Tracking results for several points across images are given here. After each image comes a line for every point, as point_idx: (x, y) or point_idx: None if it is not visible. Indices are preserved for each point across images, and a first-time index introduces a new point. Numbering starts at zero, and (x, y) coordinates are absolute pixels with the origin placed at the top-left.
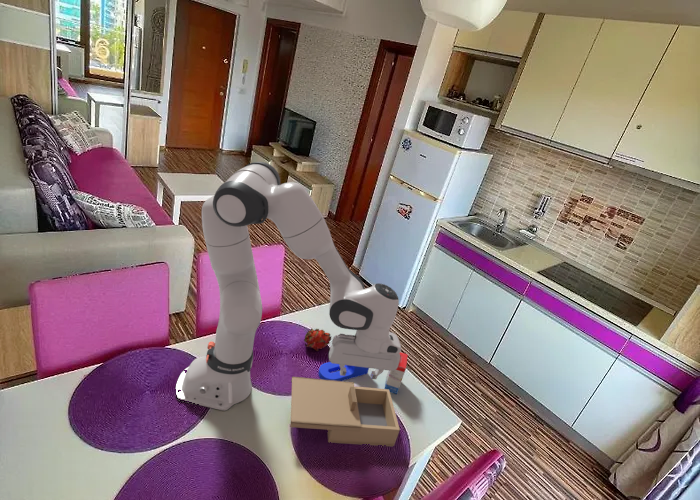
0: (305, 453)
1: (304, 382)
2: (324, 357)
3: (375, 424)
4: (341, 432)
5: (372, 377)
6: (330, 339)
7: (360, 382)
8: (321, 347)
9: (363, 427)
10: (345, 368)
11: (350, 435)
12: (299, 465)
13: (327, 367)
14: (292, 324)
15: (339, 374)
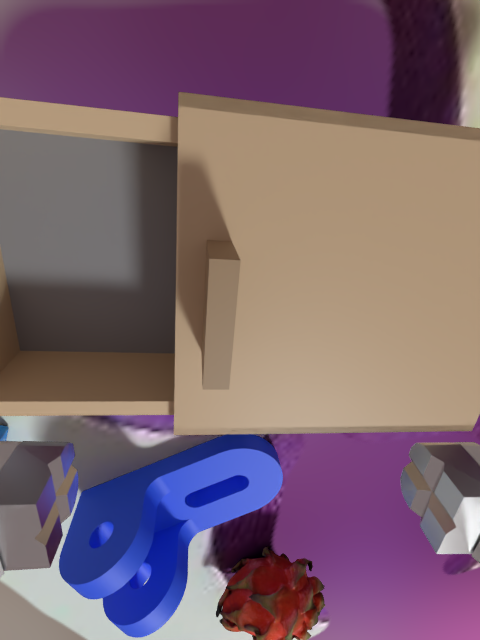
0: (421, 82)
1: (429, 406)
2: (242, 529)
3: (63, 234)
4: None
5: (51, 462)
6: (220, 603)
7: (115, 450)
8: (259, 567)
9: (154, 114)
10: (449, 541)
11: None
12: (466, 10)
13: (249, 494)
14: (321, 616)
15: (206, 472)
